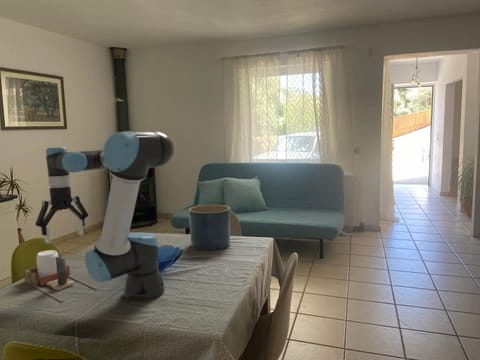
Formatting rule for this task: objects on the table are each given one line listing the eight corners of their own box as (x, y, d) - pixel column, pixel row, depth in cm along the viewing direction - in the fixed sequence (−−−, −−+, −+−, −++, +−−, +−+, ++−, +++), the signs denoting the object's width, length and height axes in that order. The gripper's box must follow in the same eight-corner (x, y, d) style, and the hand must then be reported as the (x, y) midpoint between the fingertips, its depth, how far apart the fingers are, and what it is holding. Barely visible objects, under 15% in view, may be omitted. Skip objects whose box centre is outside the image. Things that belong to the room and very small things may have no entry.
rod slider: (79, 282, 151) (76, 254, 149) (51, 292, 143) (49, 262, 141) (66, 277, 158) (64, 250, 156) (40, 285, 149) (37, 257, 148)
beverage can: (51, 284, 151) (48, 256, 150) (34, 283, 153) (31, 255, 151) (64, 276, 159) (61, 250, 158) (48, 275, 161) (45, 249, 159)
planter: (186, 251, 190) (185, 213, 187) (193, 239, 212) (192, 205, 209) (229, 250, 189) (228, 212, 186) (232, 238, 211) (231, 204, 208)
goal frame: (70, 276, 159) (69, 265, 159) (35, 287, 148) (33, 275, 148) (59, 271, 166) (58, 260, 165) (24, 281, 155) (23, 270, 154)
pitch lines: (98, 289, 145) (98, 288, 145) (61, 302, 134) (61, 301, 134) (70, 276, 159) (70, 275, 159) (35, 287, 148) (34, 286, 148)
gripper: (84, 182, 156) (89, 230, 159) (21, 190, 137) (27, 245, 139) (94, 183, 152) (98, 232, 154) (30, 191, 132) (36, 248, 134)
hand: (65, 238), depth 147 cm, fingers open, 13 cm apart
